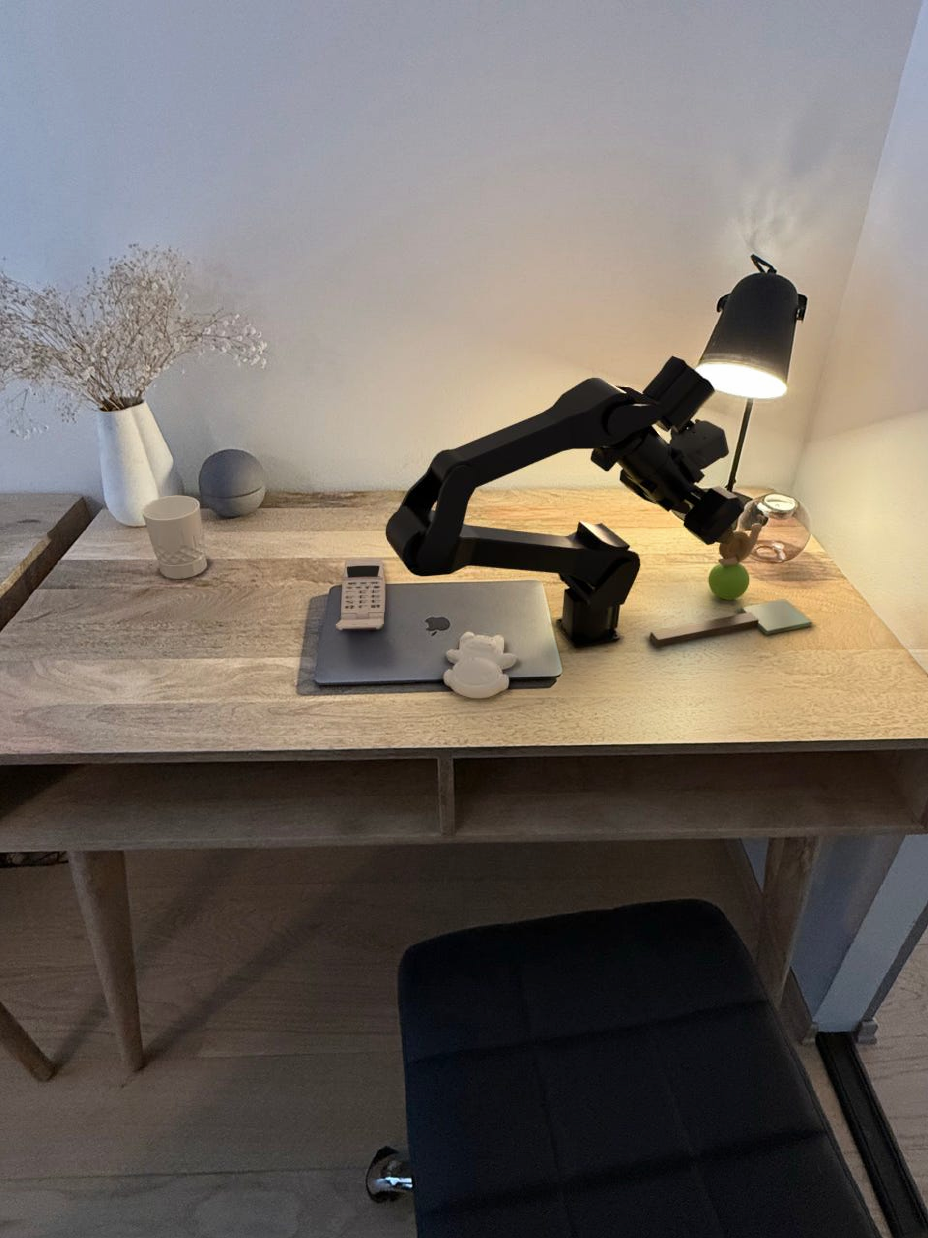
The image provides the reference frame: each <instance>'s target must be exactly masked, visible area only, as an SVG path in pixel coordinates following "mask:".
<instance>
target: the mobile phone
mask: <svg viewBox="0 0 928 1238" xmlns="http://www.w3.org/2000/svg"><path fill="white" fill-rule="evenodd" d="M340 600H341V605H340V613H341V614H340V620H339V621H338V622H337V623H335V627H336V629H338V630H339V631H367V630H368V631H369V630H370V631H371V630H381V629H382V628H383V626H384V624H385V620H384V619H385V612H386V577H385V567H384V560H383V558H382V557H361V558H360V557H357V558H356V557H355V558H345V561H344V569H343V572H342V585H341V599H340Z"/></svg>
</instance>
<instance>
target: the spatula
mask: <svg viewBox="0 0 928 1238" xmlns="http://www.w3.org/2000/svg"><path fill="white" fill-rule="evenodd" d="M812 624H813V621H812V620H810V619H809V617H807V616H806V615H805V614H804V613H802V612H801V611H800V610H798V609H797V608H796V607H795V606H794V605H793V604H791V603H790V602H788V601H787V600H786V599H785V598H783V599H778V600H773V601H768V602H763V603H758V604H752V605H748V606H743V607H741V608H740V613H739V614H733V615H727V616H724V617H719V618H713V619H709V620H708V619H707V620H703V621H699V622H698V621H697V622H693V623H688V624H682V625H678V626H673V627H672V626H671V627H668V628H662V629H657V630H651V631H650V634H649V640H650V642H651V643H653V645H654V646H655V647H656V648H660V647H665V646H666V647H667V646H671V645H677V644H680V643H685V642H690V641H696V640H701V639H705V638H710V637H714V636H721V635H725V634H730V633H735V632H740V631H744V630H751V629H754V628H758V629H759V630H760V631H761V632H762V633H763V634H765V635H766V636H770V635H775V634H778V633H784V632H789V631H793V630H798V629H803V628H807V627H811V626H812Z"/></svg>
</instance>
